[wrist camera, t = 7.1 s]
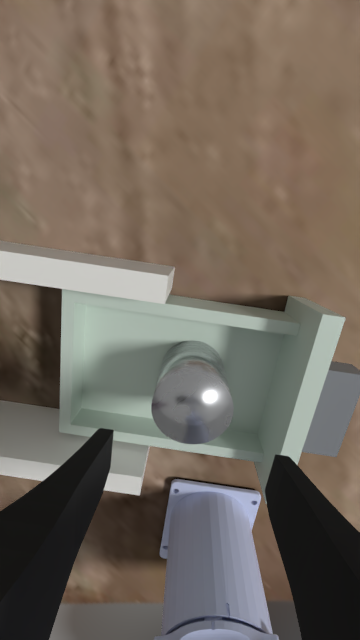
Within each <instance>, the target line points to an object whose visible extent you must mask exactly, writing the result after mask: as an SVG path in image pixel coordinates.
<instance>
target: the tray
mask: <svg viewBox="0 0 360 640" xmlns="http://www.w3.org/2000/svg"><path fill="white" fill-rule="evenodd" d="M344 321H345V317H343V316H341V315H339V314H337V313H335V312H333V311H331V310H329V309H327V308H325V307H323V306H321V305H319V304H317V303H314V302H312V301H310V300H308V299H306V298H301V297H295V296H288V300H287V304H286V307H285V311H284V312H282V311H276V310H269V309H262V308H255V307H249V306H242V305H235V304H229V303H222V302H215V301H209V300H202V299H195V298H189V297H182V296H175V295H169V296H168V298H167V300H166V303H165V304H160V303H153V302H147V301H140V300H133V299H127V298H120V297H113V296H107V295H100V294H93V293H87V292H80V291H73V290H66V289H62V316H61V364H60V412H59V432H61V433H68V434H74V435H81V436H88V437H91V436H92V435H93V434H94V433H95V432H96V431H97V430H98V429H99V428H104V429H110V430H114V433H113V440H114V441H121V442H128V443H134V444H141V445H148V446H154V447H161V448H168V449H174V450H181V451H188V452H195V453H201V454H208V455H215V456H221V457H228V458H235V459H241V460H248V461H254V464H255V468H256V471H257V475H258V478H259V482H260V485H261V489H262V492H263V496H264V499H265V503H266V504H267V501H266V496H265V488H266V484H267V481H268V477H269V474H270V471H271V467H272V464H273V460H274V457H275V454H277V455H284V456H289V457H290V458H291V459H292V460H293V461H294V462H295V463H296V465H297V464H298V461H299V458H300V455H301V452H306V453H313V454H320V455H326V456H333V457H337V454H338V452H339V449H340V446H341V444H342V441H343V438H344V436H345V433H346V430H347V428H348V425H349V422H350V420H351V417H352V414H353V412H354V409H355V406H356V404H357V401H358V398H359V395H360V370H358V369H357V368H356V367H354V366H353V365H352V364H346V363H340V362H333V361H332V358H333V355H334V352H335V349H336V345H337V342H338V339H339V336H340V333H341V330H342V327H343V324H344ZM189 340H195V341H200V342H204V343H206V344H208V345H210V346H211V347H213V348H214V349H215V350H216V351H217V352H218V354H219V355H220V357H221V359H222V362H223V366H224V370H225V374H226V378H227V382H228V386H229V390H230V393H231V397H232V401H233V407H234V410H233V417H232V420H231V423H230V424H229V426H228V428H227V429H226V430H225V431H224V432H223V433H222V434H221V435H220V436H219V437H217V438H215V439H214V440H211V441H209V442H206V443H202V444H184V443H180V442H177V441H174V440H172V439H170V438H169V437H167V436H166V435H165V434H163V433H162V432H161V431H160V429H159V428H158V427H157V425H156V424H155V422H154V419H153V417H152V412H151V405H152V399H153V395H154V392H155V388H156V384H157V380H158V376H159V372H160V368H161V364H162V360H163V358H164V356H165V354H166V353H167V351H168V350H169V349H170V348H171V347H173V346H174V345H176V344H178V343H180V342H184V341H189Z"/></svg>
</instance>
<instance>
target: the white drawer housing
mask: <svg viewBox="0 0 360 640" xmlns="http://www.w3.org/2000/svg"><path fill="white" fill-rule="evenodd" d="M174 270H175V267H173V266H167V265H160V264H153V263H147V262H140V261H133V260H126V259H120V258H113V257H106V256H100V255H93V254H86V253H80V252H73V251H66V250H60V249H53V248H46V247H39V246H33V245H26V244H19V243H13V242H6V241H0V280H6V281H13V282H20V283H26V284H33V285H40V286H46V287H53V288H60V289H66V290H73V291H80V292H87V293H93V294H100V295H107V296H113V297H120V298H127V299H133V300H140V301H147V302H153V303H160V304H165V303H166V300H167V298H168V296H169V293H170V291H171V289H172V284H173V277H174ZM59 412H60V409H57V408H50V407H43V406H37V405H30V404H23V403H17V402H10V401H3V400H0V475H6V476H13V477H20V478H26V479H33V480H40V481H44V480H45V479H46V478H47V477H48V476H50V475H51V474H52V473H53V472H54V471H55V470H57V469H58V468H59V467H60V466H61V465H62V464H64V463H65V462H66V461H67V460H68V459H69V458H70V457H71V456H72V455H73V454H74V453H75V452H76V451H77V450H79V449H80V448H81V447H82V446H83V445H84V444H85V443H86V441H87V440H88V439H89V438H90V437H88V436H81V435H74V434H68V433H61V432H59ZM149 448H150V446H148V445H141V444H134V443H128V442H121V441H114V440H113V444H112V456H111V467H110V471H109V474H108V477H107V481H106V484H105V487H104V490H106V491H113V492H120V493H126V494H133V495H140V492H141V487H142V482H143V477H144V472H145V468H146V463H147V458H148V453H149Z"/></svg>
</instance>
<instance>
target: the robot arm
mask: <svg viewBox="0 0 360 640" xmlns="http://www.w3.org/2000/svg"><path fill="white" fill-rule="evenodd" d="M113 433H114V430H110V429H104V428H99V429H98V430H97V431H96V432H95V433H94V434H93V435H92V436H91V437H90V438H89V439H88V440H87V441H86V443H85V444H84V445H83V446H82V447H81V448H80V449H79V450H77V451H76V452H75V453H74V454H73V455H72V456H71V457H70V458H69V459H68V460H67V461H66V462H65V463H64V464H62V465H61V466H60V467H59V468H58V469H57V470H55V471H54V472H53V473H52V474H51V475H50V476H48V477H47V478H46V479H45V480H44V481H42V482H41V483H40V484H38V485H37V486H36V487H35V488H33V489H32V490H31V491H29V492H28V493H26V494H25V495H24V496H22V497H21V498H19V499H18V500H17V501H15V502H14V503H12V504H11V505H9V506H8V507H6V508H5V509H3V510H2V511H0V640H49V637H50V634H51V631H52V627H53V625H54V622H55V618H56V615H57V612H58V609H59V606H60V603H61V600H62V597H63V594H64V591H65V588H66V585H67V582H68V579H69V576H70V573H71V570H72V567H73V564H74V561H75V558H76V556H77V553H78V551H79V548H80V546H81V543H82V541H83V539H84V536H85V534H86V531H87V529H88V527H89V524H90V522H91V520H92V517H93V515H94V512H95V510H96V508H97V505H98V503H99V500H100V498H101V496H102V493H103V490H104V487H105V484H106V481H107V477H108V474H109V471H110V467H111V456H112V444H113ZM176 489H177V490H176ZM265 496H266V501H267V507H268V512H269V517H270V521H271V524H272V528H273V531H274V534H275V538H276V541H277V544H278V548H279V551H280V554H281V558H282V561H283V564H284V567H285V571H286V574H287V577H288V581H289V584H290V588H291V592H292V596H293V600H294V604H295V609H296V613H297V618H298V622H299V627H300V632H301V637H302V640H360V533H359V532H358V531H357V530H356V529H355V528H354V527H353V526H352V525H351V524H350V523H349V522H348V521H347V520H346V519H345V518H344V517H343V516H342V515H341V514H340V513H339V511H338V510H337V509H336V508H335V507H334V506H333V505H332V504H331V503H330V502H329V501H328V500H327V499H326V498H325V496H324V495H323V494H322V493H321V492H320V491H319V490H318V489H317V487H316V486H315V485H314V484H313V483H312V482H311V481H310V480H309V478H308V477H307V476H306V475H305V474H304V473H303V471H302V470H301V469H300V468H299V467H298V466H297V465H296V463H295V462H294V461H293V460H292V459H291V458H290V457H289V456H284V455H277V454H275V457H274V460H273V464H272V467H271V471H270V474H269V477H268V481H267V484H266V488H265ZM260 500H261V495H260V493H259V492H258V491H255V490H248V489H241V488H235V487H228V486H221V485H215V484H208V483H201V482H195V481H188V480H181V479H174V480H173V481H172V482H171V488H170V494H169V500H168V505H167V511H166V517H165V523H164V529H163V535H162V541H161V547H160V557H162V558H164V559H167V567H166V580H165V593H164V606H163V619H162V632H161V636H156V637H155V638H154V640H279V639H278V635H276V634H273V633H272V628H271V623H270V619H269V614H268V609H267V604H266V599H265V594H264V589H263V585H262V580H261V575H260V570H259V565H258V561H257V556H256V551H255V546H254V541H253V536H252V532H251V531H252V528H253V524H254V521H255V517H256V514H257V511H258V507H259V504H260Z"/></svg>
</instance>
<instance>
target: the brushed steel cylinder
mask: <svg viewBox="0 0 360 640" xmlns="http://www.w3.org/2000/svg"><path fill="white" fill-rule="evenodd" d="M233 410H234V407H233V401H232V397H231V393H230V390H229V386H228V382H227V378H226V374H225V370H224V366H223V362H222V359H221V357H220V355H219V354H218V352H217V351H216V350H215V349H214V348H213V347H211V346H210V345H208V344H206V343H204V342H200V341H195V340H189V341H184V342H180V343H178V344H176V345H174V346H173V347H171V348H170V349H169V350H168V351H167V353H166V354H165V356H164V358H163V360H162V364H161V368H160V372H159V376H158V380H157V384H156V388H155V392H154V395H153V399H152V405H151V412H152V417H153V419H154V422H155V424H156V425H157V427H158V428H159V429H160V431H161V432H162V433H163V434H165V435H166V436H167V437H169V438H170V439H172V440H174V441H177V442H180V443H184V444H202V443H206V442H209V441H211V440H214V439H215V438H217V437H219V436H220V435H221V434H222V433H223V432H224V431H225V430H226V429H227V428H228V426H229V424H230V423H231V420H232V417H233Z"/></svg>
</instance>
